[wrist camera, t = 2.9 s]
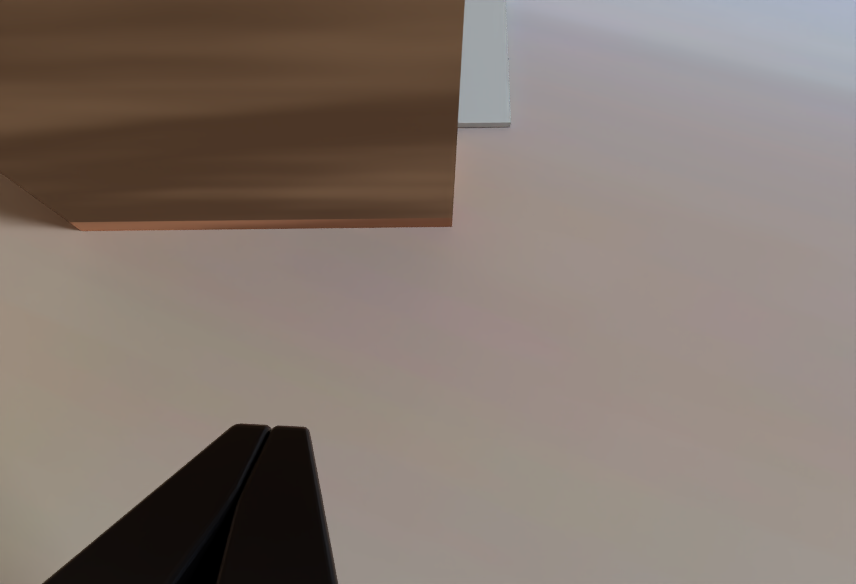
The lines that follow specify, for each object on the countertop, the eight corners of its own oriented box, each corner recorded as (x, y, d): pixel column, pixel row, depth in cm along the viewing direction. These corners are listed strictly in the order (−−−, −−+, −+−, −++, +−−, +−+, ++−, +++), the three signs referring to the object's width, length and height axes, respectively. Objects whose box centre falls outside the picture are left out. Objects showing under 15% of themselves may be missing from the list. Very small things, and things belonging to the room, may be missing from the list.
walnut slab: (451, 226, 23) (472, -132, 10) (81, 231, 23) (-400, -118, 10) (450, 142, 24) (467, -298, 11) (92, 146, 24) (-342, -283, 11)
